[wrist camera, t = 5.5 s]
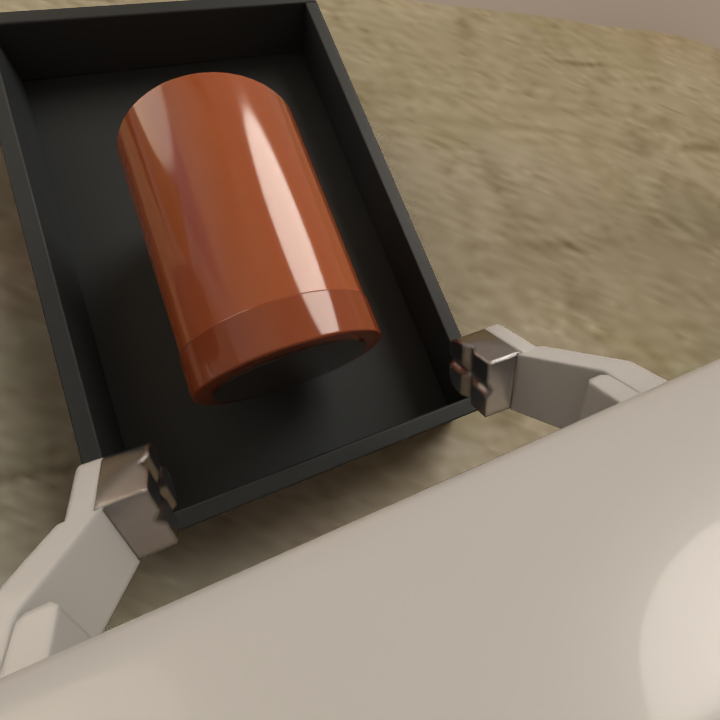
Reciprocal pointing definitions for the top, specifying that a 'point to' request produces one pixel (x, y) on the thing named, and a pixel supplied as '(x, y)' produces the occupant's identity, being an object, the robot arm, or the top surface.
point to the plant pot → (240, 238)
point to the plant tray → (134, 269)
